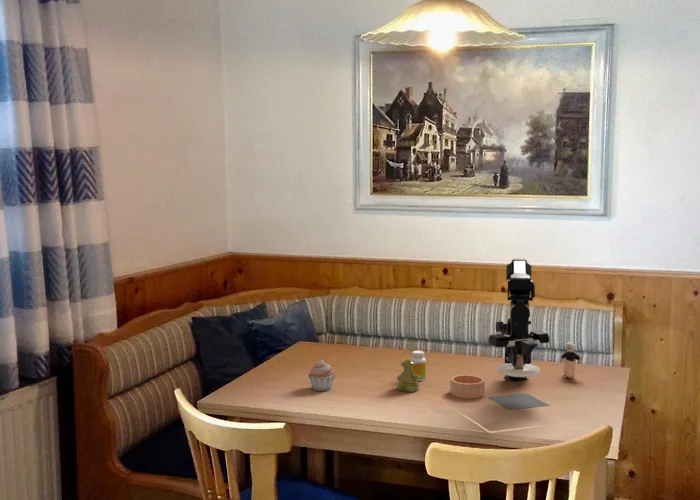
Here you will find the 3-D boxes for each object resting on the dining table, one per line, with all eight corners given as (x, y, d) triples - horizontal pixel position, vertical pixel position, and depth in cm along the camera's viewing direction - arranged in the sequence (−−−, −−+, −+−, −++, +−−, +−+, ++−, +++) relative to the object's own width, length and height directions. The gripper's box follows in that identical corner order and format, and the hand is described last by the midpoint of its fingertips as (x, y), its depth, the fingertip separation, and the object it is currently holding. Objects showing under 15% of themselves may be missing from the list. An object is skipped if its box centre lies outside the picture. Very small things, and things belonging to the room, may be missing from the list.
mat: (525, 394, 255) (525, 392, 255) (549, 406, 242) (549, 405, 242) (487, 398, 251) (487, 396, 250) (509, 411, 237) (509, 410, 237)
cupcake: (341, 388, 262) (341, 359, 261) (321, 394, 256) (321, 364, 254) (322, 383, 269) (321, 354, 268) (302, 389, 262) (301, 359, 261)
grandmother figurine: (558, 378, 274) (559, 342, 272) (559, 375, 277) (560, 340, 276) (580, 380, 271) (581, 344, 269) (582, 377, 274) (583, 342, 273)
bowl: (474, 388, 262) (474, 373, 261) (490, 397, 251) (490, 382, 251) (444, 391, 258) (445, 376, 258) (459, 401, 248) (460, 385, 247)
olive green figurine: (412, 393, 256) (412, 363, 255) (392, 390, 260) (392, 360, 259) (422, 388, 262) (423, 359, 261) (403, 384, 266) (403, 356, 265)
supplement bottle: (424, 381, 270) (425, 354, 269) (409, 380, 271) (409, 353, 270) (426, 377, 275) (426, 350, 274) (411, 376, 276) (411, 349, 275)
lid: (525, 364, 253) (525, 349, 253) (548, 374, 241) (548, 358, 240) (489, 368, 249) (490, 352, 248) (510, 378, 237) (511, 362, 236)
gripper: (531, 310, 254) (530, 357, 255) (480, 313, 248) (479, 362, 249) (551, 316, 243) (549, 365, 245) (497, 320, 237) (496, 370, 239)
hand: (518, 365), depth 245 cm, fingers closed on lid, 3 cm apart
